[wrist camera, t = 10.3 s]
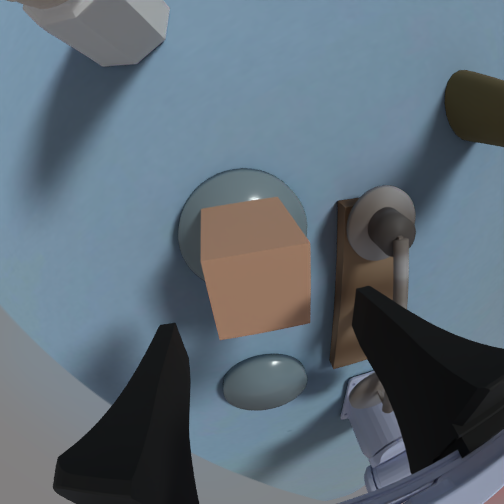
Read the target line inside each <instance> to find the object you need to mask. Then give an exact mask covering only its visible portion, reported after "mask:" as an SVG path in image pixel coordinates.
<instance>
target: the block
mask: <svg viewBox="0 0 504 504" xmlns="http://www.w3.org/2000/svg"><path fill="white" fill-rule="evenodd" d="M201 265H202V269H203V274H204V278H205V282H206V287H207V291H208V295H209V299H210V303H211V307H212V311H213V315H214V319H215V323H216V327H217V331H218V335H219V338H220V340H224V339H230V338H236V337H241V336H247V335H253V334H258V333H264V332H269V331H274V330H279V329H284V328H289V327H294V326H298V325H303V324H308V323H310V295H311V271H310V242H309V240H308V239H307V237H306V236H305V235H304V233H303V232H302V230H301V229H300V227H299V226H298V225H297V223H296V222H295V220H294V219H293V217H292V216H291V215H290V213H289V212H288V210H287V209H286V208H285V206H284V205H283V203H282V202H281V201H280V199H279V198H278V197H272V198H265V199H258V200H252V201H245V202H239V203H233V204H227V205H221V206H215V207H209V208H203V209H201Z"/></svg>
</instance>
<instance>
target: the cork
mask: <svg viewBox="0 0 504 504" xmlns="http://www.w3.org/2000/svg"><path fill="white" fill-rule="evenodd" d="M445 109H446V116H447V118H448V121H449V124H450V126H451V128H452V129H453V131H454V132H455V134H456V135H457V136H458V137H460V138H461V139H462V140H466V141H471V142H478V143H484V144H490V145H496V146H501V147H504V81H503V80H500V79H497V78H494V77H490V76H487V75H483V74H480V73H476V72H472V71H468V70H459V71H457V72H456V73H454V74H453V75H452V76H451V78H450V79H449V81H448V84H447V87H446V91H445Z"/></svg>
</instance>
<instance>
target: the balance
mask: <svg viewBox="0 0 504 504" xmlns="http://www.w3.org/2000/svg"><path fill="white" fill-rule="evenodd" d="M414 224H415V208H414V204H413V202H412V200H411V198H410V197H409V196H408V195H407V194H406V193H405V192H404V191H402V190H400V189H399V188H397V187H394V186H390V185H382V186H377V187H374V188H372V189H370V190H369V191H367V192H365V193H364V194H363V195H362V196H361V197H360V198H355V199H347V200H339V201H338V221H337V262H336V284H335V301H334V315H333V328H332V339H331V350H330V359H329V360H330V363H331V365H332V367H333V369H336V368H339V367H343V366H346V365H350V364H353V363H357V362H360V361H363V360H366V359H367V357H366V356H365V354H364V352H363V350H362V349H361V347H360V345H359V342H358V340H357V338H356V335H355V333H354V330H353V328H352V319H353V311H354V302H355V294H356V289H357V288H361V287H365V286H371V287H373V288H374V289H376V290H377V291H379V292H381V293H382V294H384V295H385V296H387V297H388V298H390V299H391V300H393V301H394V302H396V303H397V304H399V305H401V306H402V307H404V308H405V309H407V301H408V278H409V248H410V247H411V245H412V244H413V241H414V239H415V234H416V229H415V225H414ZM349 401H350V404H351V406H352V407H354V408H357V409H364V408H369V407H372V406H375V405H377V404H379V403H381V402H382V404H383V406H382V411H383V412H384V413H391V412H392V411H393V409H392V406H391V404H390V401H389V399H388V396H387V394H386V392H385V390H384V388H383V386H382V384H381V382H380V380H379V378H378V377H377V375H376V373H375V372H374V373H372V374H370V375H369V376H367V377H365V378H364V379H363V380H361V381H360V382H359V383H358V384H357V385H356V386H355V387H354V388H353V389H352V391H351V392H350V394H349Z"/></svg>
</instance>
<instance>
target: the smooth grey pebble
mask: <svg viewBox="0 0 504 504" xmlns="http://www.w3.org/2000/svg"><path fill="white" fill-rule="evenodd" d="M306 384H307V375H306V372H305V370H304V367H303V365H302V363H301V362H300V361H298V360H297V359H295V358H293V357H291V356H288V355H283V354H265V355H259V356H255V357H251V358H248V359H246V360H244V361H242V362H240V363H238V364H236V365H235V366H233V367H232V368H231V369H230V370H229V371H228V372H227V374H226V375H225V377H224V379H223V391H224V396H225V398H226V400H227V401H228V402H229V403H230V404H232V405H233V406H235V407H237V408H240V409H245V410H267V409H272V408H276V407H279V406H282V405H284V404H286V403H288V402H290V401H292V400H293V399H295V398H296V397H297V396H299V395H300V394H301V393H302V391H303V390H304V388H305V387H306Z"/></svg>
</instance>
